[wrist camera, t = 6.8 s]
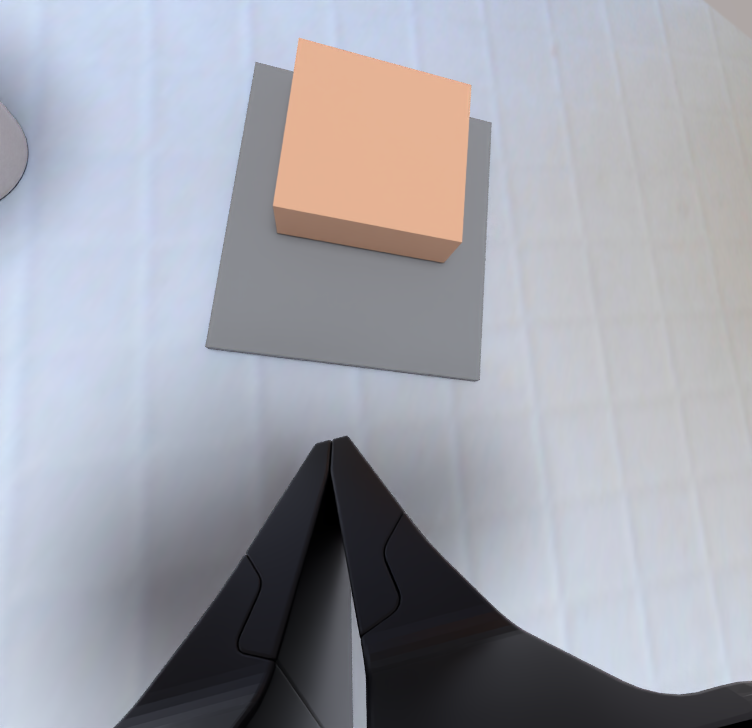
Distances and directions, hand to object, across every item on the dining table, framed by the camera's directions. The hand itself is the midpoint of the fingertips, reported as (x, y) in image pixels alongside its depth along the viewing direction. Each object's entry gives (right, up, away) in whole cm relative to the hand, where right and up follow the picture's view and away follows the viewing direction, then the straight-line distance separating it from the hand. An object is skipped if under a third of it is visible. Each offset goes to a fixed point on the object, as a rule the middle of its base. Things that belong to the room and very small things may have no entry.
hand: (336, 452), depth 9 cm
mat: (0, +10, +11) cm, 15 cm away
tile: (+1, +9, +9) cm, 12 cm away
